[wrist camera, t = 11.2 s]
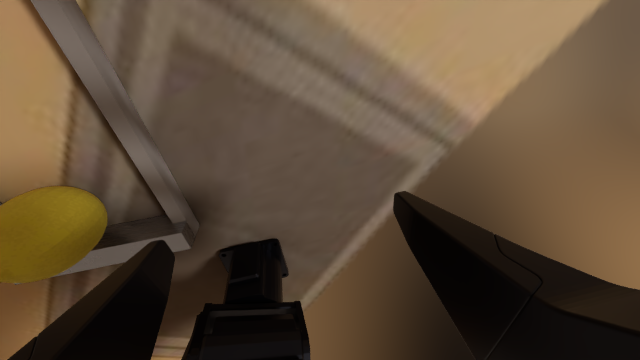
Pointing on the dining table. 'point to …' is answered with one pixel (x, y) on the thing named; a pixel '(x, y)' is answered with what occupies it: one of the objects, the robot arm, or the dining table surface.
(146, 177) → the channel
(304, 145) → the dining table surface
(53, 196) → the lemon
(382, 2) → the dining table surface
